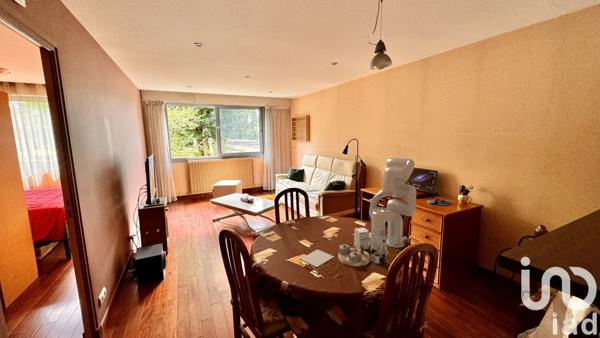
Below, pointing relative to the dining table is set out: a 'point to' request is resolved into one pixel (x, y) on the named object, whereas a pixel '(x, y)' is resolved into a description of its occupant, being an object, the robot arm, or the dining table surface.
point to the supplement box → (361, 238)
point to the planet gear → (375, 258)
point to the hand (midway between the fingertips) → (377, 259)
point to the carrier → (353, 256)
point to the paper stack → (317, 258)
